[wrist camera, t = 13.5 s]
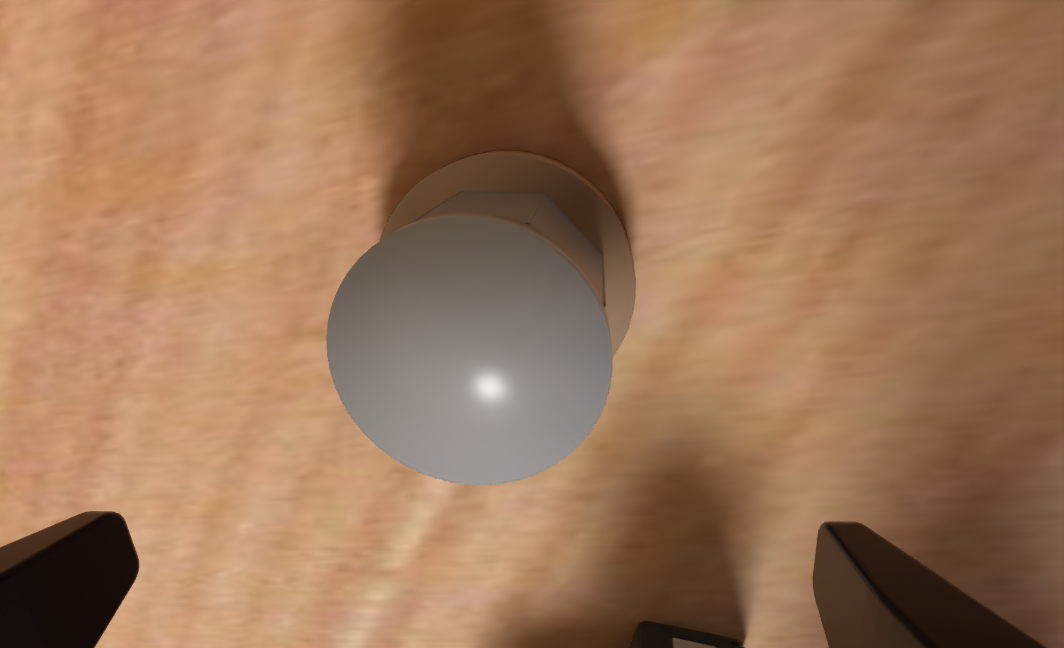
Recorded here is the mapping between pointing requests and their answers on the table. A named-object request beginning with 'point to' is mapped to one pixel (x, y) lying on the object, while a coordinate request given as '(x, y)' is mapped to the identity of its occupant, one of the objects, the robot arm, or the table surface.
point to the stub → (562, 188)
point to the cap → (475, 339)
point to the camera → (677, 638)
